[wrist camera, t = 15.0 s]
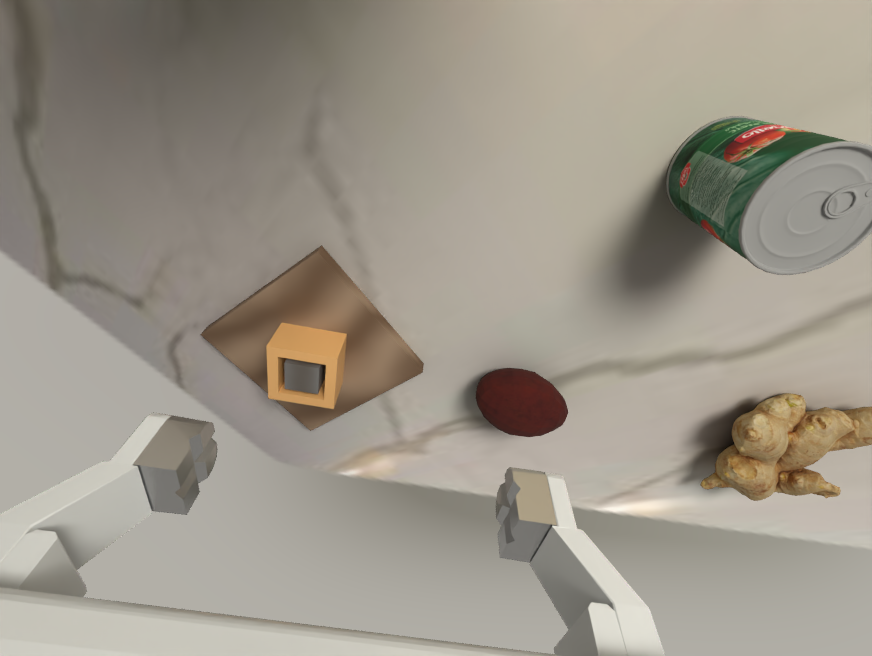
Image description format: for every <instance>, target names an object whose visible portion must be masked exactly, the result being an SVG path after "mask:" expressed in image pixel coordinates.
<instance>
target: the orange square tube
mask: <svg viewBox="0 0 872 656" xmlns="http://www.w3.org/2000/svg"><path fill="white" fill-rule="evenodd" d="M346 339H347V334H345V333H339V332H333V331H327V330H322V329H316V328H310V327H305V326H299V325H293V324H287V323H281V324H280V326H279V327H278V329H277V330H276V332H275V334H274V335H273V337H272V338H271V340H270V341H269V343H268V344H267V346H266V349H267V376H268V399H275V400H281V401H287V402H293V403H299V404H305V405H311V406H318V407H324V408H330V409H334V407H335V404H336V401H337V398H338V395H339V392H340V389H341V386H342V383H343V373H344V361H345V350H346ZM287 358H288V359H294V360H300V361H306V362H311V363H317V364H323V365H326V374H325V378H324V381H323V383H322V386H321V388H320V391H319V393H318V394H314V393H307V392H301V391H295V390H289V389H285V371H284V363H285V361H286V359H287Z"/></svg>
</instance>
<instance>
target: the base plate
mask: <svg viewBox="0 0 872 656" xmlns="http://www.w3.org/2000/svg"><path fill="white" fill-rule="evenodd" d="M281 323H287V324H293V325H299V326H305V327H310V328H316V329H322V330H327V331H333V332H339V333H345V334H347V339H346V350H345V361H344V373H343V383H342V386H341V389H340V392H339V395H338V398H337V401H336V404H335V407H334V409H330V408H324V407H318V406H311V405H305V404H299V403H293V402H287V401H281V400H276V401H277V402H278V403H279V404H281V405H282V406H283V407H284V408H285V409H286V410H287V411H289V412H290V413H291V414H292V415H293V416H294V417H295V418H297V419H298V420H299V421H300V422H301V423H302V424H304V425H305V426H306V427H307V428H308V429H309V430H310V431H311V430H313V429H315V428H317V427H319V426H321V425H323V424H325V423H327V422H328V421H330V420H332V419H334V418H336V417H338V416H340V415H342V414H344V413H346V412H348V411H350V410H351V409H353V408H355V407H357V406H359V405H361V404H363V403H365V402H367V401H369V400H371V399H372V398H374V397H376V396H378V395H380V394H382V393H384V392H386V391H388V390H390V389H392V388H394V387H395V386H397V385H399V384H401V383H403V382H405V381H407V380H409V379H411V378H413V377H415V376H417V375H418V374H420V373H422V372H423V364H424V363H423V362H422V361H421V360H420V359H419V358H418V356H417V355H416V354H415V353H414V352H413V351H412V350H411V348H410V347H409V346H408V345H407V344H406V343H405V341H404V340H403V339H402V338H401V337H400V336H399V335H398V333H397V332H396V331H395V330H394V329H393V328H392V326H391V325H390V324H389V323H388V322H387V321H386V319H385V318H384V317H383V316H382V315H381V314H380V313H379V311H378V310H377V309H376V308H375V307H374V306H373V304H372V303H371V302H370V301H369V300H368V299H367V297H366V296H365V295H364V294H363V293H362V292H361V291H360V289H359V288H358V287H357V286H356V285H355V284H354V282H353V281H352V280H351V279H350V278H349V277H348V275H347V274H346V273H345V272H344V271H343V270H342V269H341V267H340V266H339V265H338V264H337V263H336V262H335V260H334V259H333V258H332V257H331V256H330V255H329V254H328V252H327V251H326V250H325V249H324V248H323V247H322V246H320V247H319V248H317V249H316V250H315V251H313V252H312V253H310V254H309V255H308V256H306V257H305V258H303V259H302V260H301V261H299V262H298V263H296V264H295V265H294V266H292V267H291V268H289V269H288V270H287V271H285V272H284V273H282V274H281V275H280V276H278V277H277V278H275V279H274V280H272V281H271V282H270V283H268V284H267V285H265V286H264V287H263V288H261V289H260V290H258V291H257V292H256V293H254V294H253V295H251V296H250V297H249V298H247V299H246V300H244V301H243V302H242V303H240V304H239V305H237V306H236V307H235V308H233V309H232V310H230V311H229V312H228V313H226V314H225V315H223V316H222V317H220V318H219V319H218V320H216V321H215V322H213V323H212V324H211V325H209V326H208V327H207V328H206V329H205V330H204V331H203V332H202V334H201V335H202V336H203V337H204V338H205V339H206V340H207V341H208V342H210V343H211V344H212V345H213V346H214V347H215V348H216V349H218V350H219V351H220V352H221V353H222V354H223V355H224V356H226V357H227V358H228V359H229V360H230V361H231V362H232V363H234V364H235V365H236V366H237V367H238V368H239V369H241V370H242V371H243V372H244V373H245V374H246V375H247V376H249V377H250V378H251V379H252V380H253V381H254V382H255V383H257V384H258V385H259V386H260V387H261V388H262V389H263V390H265V391H266V392H267V393H268V376H267V349H266V346H267V344H268V343H269V341H270V340H271V338H272V337H273V335H274V334H275V332H276V330H277V329H278V327H279V326H280V324H281ZM284 371H285V389H289V390H295V391H301V392H307V393H314V394H318V393H319V391H320V388H321V386H322V383H323V381H324V378H325V374H326V365H323V364H317V363H311V362H306V361H300V360H294V359H288V358H287V359H286V361H285V363H284Z"/></svg>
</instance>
